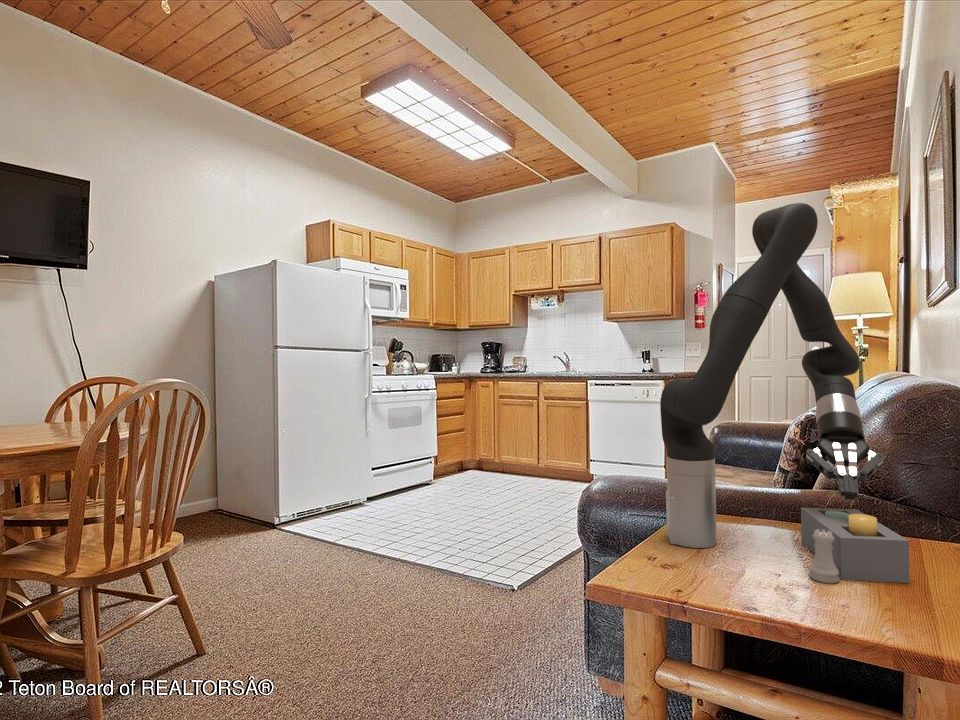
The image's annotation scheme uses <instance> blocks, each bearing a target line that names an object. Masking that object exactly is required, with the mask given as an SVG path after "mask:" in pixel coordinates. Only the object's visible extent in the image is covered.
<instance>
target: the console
mask: <svg viewBox="0 0 960 720" xmlns="http://www.w3.org/2000/svg"><path fill="white" fill-rule="evenodd" d="M826 511H841V512H845V513H848V514H865V513H864V512H862V511H860V510H859V509H857V508H855V509H853V508H852V509H851V508H827V507H826V508H825V507H822V508H821V507H801V508H800V528H801V529H800V532H801V537H800V538H801V544H803V545H804V546H805V547H806V546H807V547H808V548H809V549H810V550H811V551H812V552H813V553H814V554H813V553H812V552H811V551H810V550H809V549H808V548H807V547H806V548H807V549H808V550H809V551H810V552H811V553H812V554H813V555H815V546H814V544H815V540H814V538H813V537H812V535H813V534H814V533H815V530H816V529H819V530H820V532H822V529H823V530H825V533H827V531H831V532H832V536H833V537H834V538H835V540H834V541H833V542H832V546H833V549H832V556H833V561H834V564H835V565H836V568H837V569H838V571H839V575H838V577H839V578H841V579H840V580H842V579H849V580H848V581H859V580H863V581H862V582H877V583H878V582H883V583H896V584H898V583H899V584H910V583H911V582H910V579H911V577H910V576H911V575H910V540H908V539H907V538H905V537H903V536H902V535H900V534H898V533H897V532H895V531H894V530H892V529H890V528H888V527H887V526H885V525H883V524H882V523H880V522H879V521H877V537H874V536H853V535H852V534H850V533H849V519H847V518H828V517H827V516H825V512H826ZM850 579H851V580H850Z"/></svg>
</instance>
